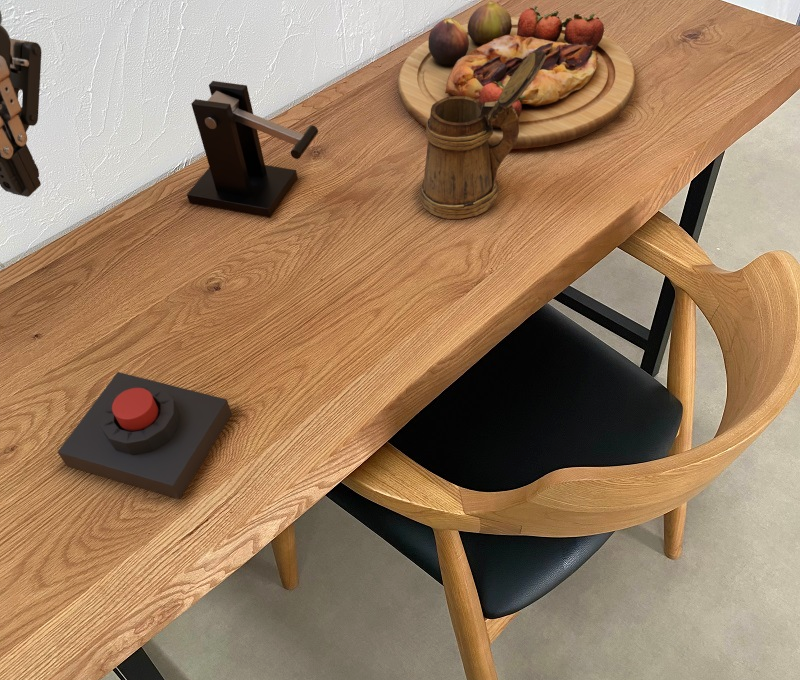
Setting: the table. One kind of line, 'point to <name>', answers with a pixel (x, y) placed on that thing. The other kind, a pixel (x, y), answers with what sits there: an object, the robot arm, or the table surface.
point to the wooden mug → (471, 147)
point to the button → (135, 409)
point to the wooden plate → (501, 56)
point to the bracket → (235, 159)
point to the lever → (268, 125)
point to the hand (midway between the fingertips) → (25, 190)
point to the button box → (148, 437)
